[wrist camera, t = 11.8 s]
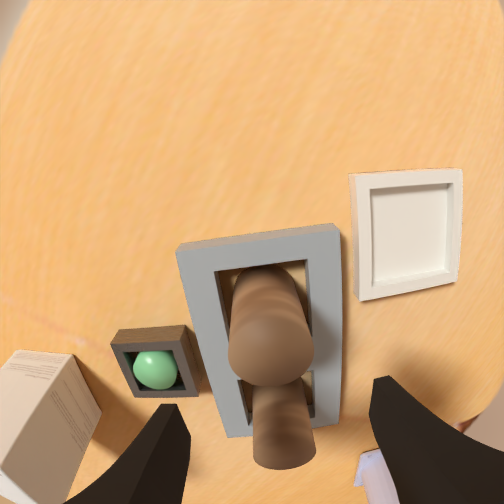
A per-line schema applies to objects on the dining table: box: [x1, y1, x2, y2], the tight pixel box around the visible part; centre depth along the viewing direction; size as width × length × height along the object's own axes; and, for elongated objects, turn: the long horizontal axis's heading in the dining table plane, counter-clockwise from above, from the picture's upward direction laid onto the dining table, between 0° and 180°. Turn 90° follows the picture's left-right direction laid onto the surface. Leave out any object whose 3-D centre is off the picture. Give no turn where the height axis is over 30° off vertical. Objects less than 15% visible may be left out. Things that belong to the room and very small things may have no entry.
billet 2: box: [252, 377, 316, 470], centre depth 19 cm, size 4×4×6 cm
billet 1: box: [228, 264, 314, 387], centre depth 16 cm, size 4×4×6 cm
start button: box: [133, 350, 179, 389], centre depth 20 cm, size 3×3×2 cm
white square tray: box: [348, 168, 463, 301], centre depth 18 cm, size 8×8×1 cm
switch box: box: [110, 325, 201, 398], centre depth 20 cm, size 5×5×2 cm
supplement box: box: [0, 350, 102, 504], centre depth 16 cm, size 7×7×13 cm
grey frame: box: [175, 223, 342, 438], centre depth 20 cm, size 9×16×2 cm, turn 8°
